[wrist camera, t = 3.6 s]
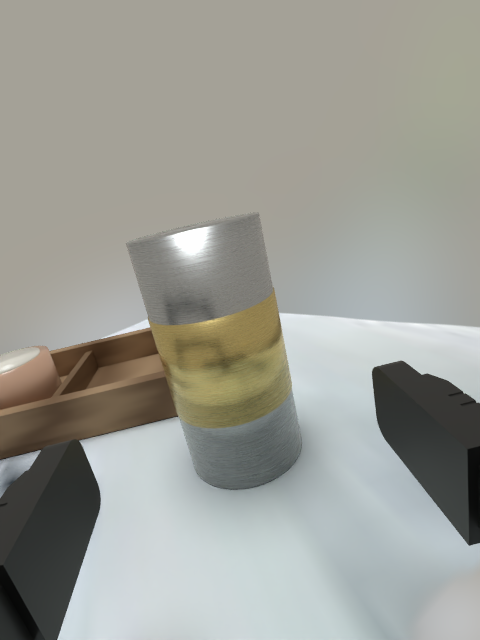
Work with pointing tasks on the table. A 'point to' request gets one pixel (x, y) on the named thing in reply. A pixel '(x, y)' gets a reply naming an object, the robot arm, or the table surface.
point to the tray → (93, 394)
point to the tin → (221, 347)
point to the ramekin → (27, 376)
